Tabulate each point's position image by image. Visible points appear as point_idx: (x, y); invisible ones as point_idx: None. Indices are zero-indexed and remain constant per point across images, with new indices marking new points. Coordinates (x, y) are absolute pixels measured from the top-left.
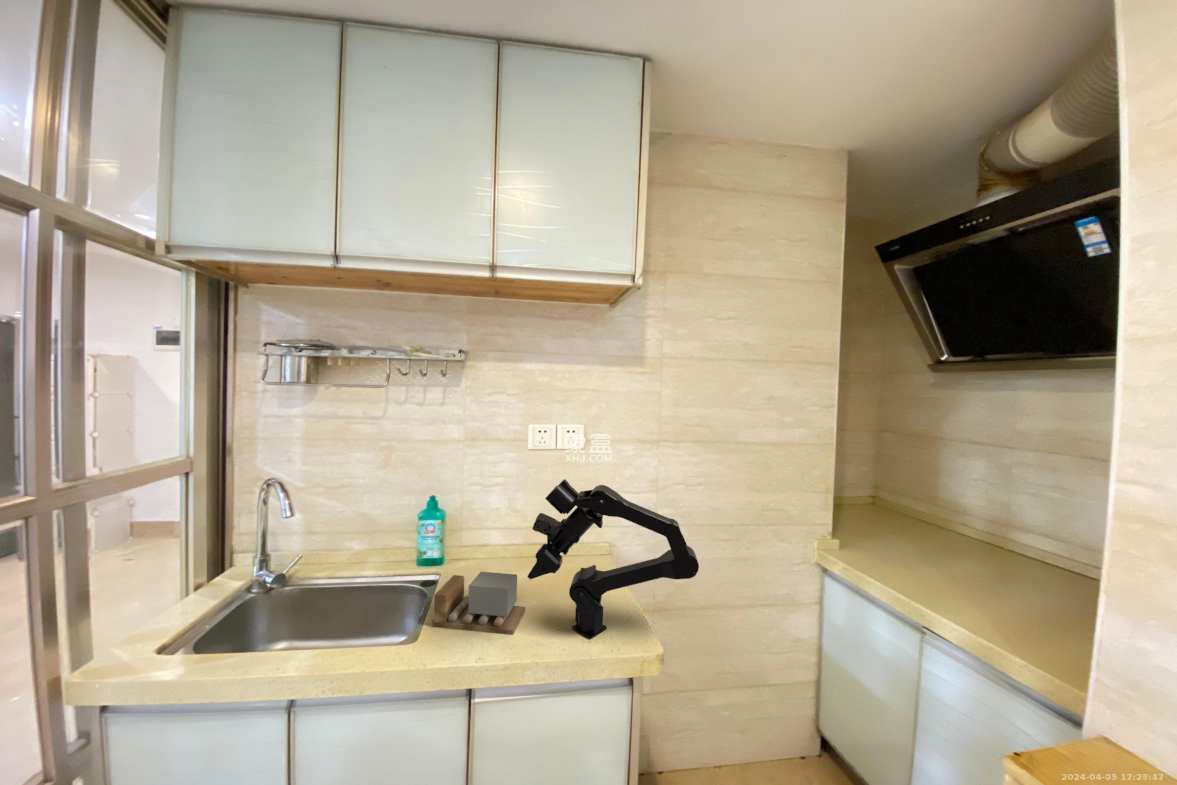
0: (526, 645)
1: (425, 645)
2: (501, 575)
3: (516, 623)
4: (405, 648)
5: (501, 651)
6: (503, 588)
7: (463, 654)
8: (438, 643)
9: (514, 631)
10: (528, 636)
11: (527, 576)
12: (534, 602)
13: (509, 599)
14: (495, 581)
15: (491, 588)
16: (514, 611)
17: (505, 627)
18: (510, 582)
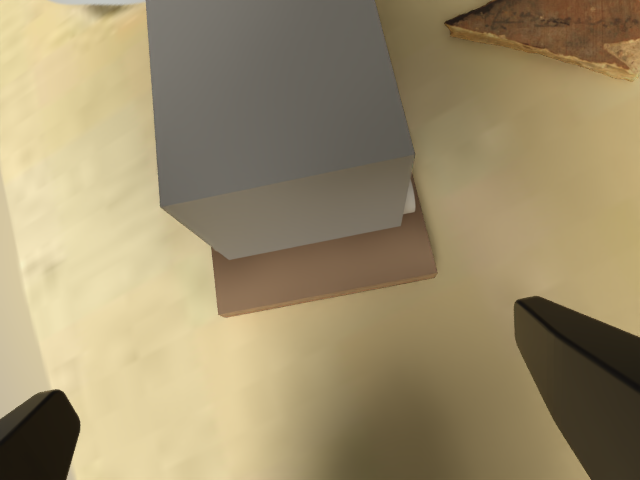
0: (167, 416)
1: (87, 56)
2: (348, 59)
3: (275, 303)
4: (61, 15)
5: (105, 328)
6: (158, 177)
7: (62, 200)
8: (106, 85)
9: (248, 312)
10: (235, 394)
11: (39, 394)
12: (539, 282)
13: (242, 230)
14: (244, 72)
15: (155, 100)
16: (372, 241)
17: (227, 270)
18: (262, 176)
